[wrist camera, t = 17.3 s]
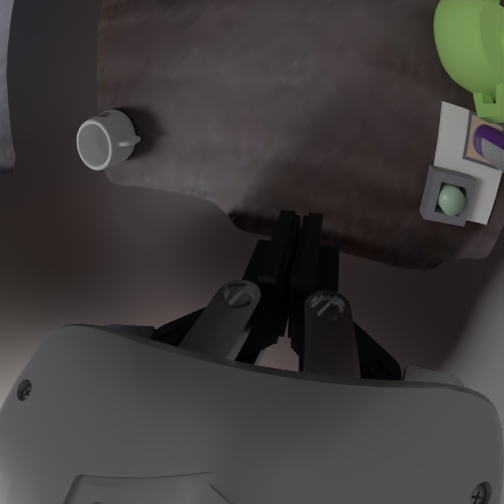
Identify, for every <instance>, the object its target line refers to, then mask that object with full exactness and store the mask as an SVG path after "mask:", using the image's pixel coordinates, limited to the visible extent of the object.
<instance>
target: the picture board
mask: <svg viewBox="0 0 504 504" xmlns="http://www.w3.org/2000/svg"><path fill="white" fill-rule="evenodd" d="M481 124H486V125H489V126H491V127H493V128H495V129H497V130H500V131H502V132H504V124H503V123H491V124H490V123H488V122H486V121H484V120H482V119H480V118H478V116H477V113H476V112H473V111H470V110H468V109H465V108H462V107H459V106H456V105H453V104H449V103H446V102H443V101H442V108H441V119H440V127H439V135H438V142H437V149H436V155H435V161H434V166H433V165H429V170H428V175H427V180H426V185H425V189H424V194H423V198H422V202H421V206H420V210H419V211H420V213H421V215H422V217H423V219H426V220H432V221H438V222H443V223H448V224H453V225H459V226H464V225H465V222H466V220H469V221H473V222H478V223H482V224H487V222H488V219H489V216H490V213H491V210H492V207H493V204H494V200H495V197H496V193H497V190H498V186H499V182H500V178H501V174H502V171H501V170H499V169H498V168H497V167H495V166H494V165H493V164H491V163H490V162H489V161H487V160H486V159H485V158H483V157H482V156H481V155H479V154H478V153H477V152H476V151H475V149H474V147H473V143H472V135H473V132H474V130H475V128H476V127H477V126H479V125H481ZM441 182H444V183H448V184H453V185H455V186H456V187H457V188H458V189H459V190H460V191H461V192H462V193H463V195H464V198H465V205H464V208H463V209H462V211H461V212H460V213H459V214H457V215H454V216H450V215H447V214H445V213H444V212H443V210H442V208H441V207H440V205H439V204H438V203H437V199H438V195H439V191H440V187H441Z"/></svg>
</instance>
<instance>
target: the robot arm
mask: <svg viewBox="0 0 504 504" xmlns="http://www.w3.org/2000/svg"><path fill="white" fill-rule="evenodd" d="M322 218H323V214H319V213H309V216H304V218H303V223H302V228H301V232H300V215H295V211H283V210H282V211H281V213H280V216H279V219H278V221H277V224H276V227H275V230H274V232H273V235H272V238H271V241H269V240H259V241H258V243H257V245H256V248H255V250H254V252H253V255H252V257H251V260H250V262H249V264H248V267H247V269H246V271H245V274H244V276H243V278H242V280H235V281H232V282H229V283H227V284H225V285H223V286H222V287H221V288H220V289H219V290H218V291H217V293H216V294H215V296H214V297H213V299H212V300H211V301H210V303H209V304H208V305H207V307H204V308H202V309H200V310H197V311H195V312H193V313H191V314H188V315H186V316H183V317H181V318H179V319H176V320H174V321H172V322H169V323H167V324H164V325H163V326H161V327H159V328H158V329H155V328H154V326H140V325H124V324H123V325H122V324H108V325H105V326H100V325H95V324H84V323H79V324H68V325H64V326H61V327H58V328H56V329H55V330H53V331H52V332H51V333H50V334H49V335H48V336H47V337H46V338H45V339H44V340H43V342H42V343H41V344H40V345H39V347H38V348H37V349H36V351H35V352H34V353H33V355H32V356H31V358H30V359H29V361H28V362H27V364H26V365H25V367H24V368H23V370H22V371H21V373H20V375H19V376H18V378H17V380H16V382H15V383H14V385H13V387H12V389H11V390H10V392H9V394H8V396H7V398H6V400H5V402H4V404H3V406H2V408H1V410H0V504H500V500H501V493H502V484H503V472H504V471H503V470H504V452H503V451H504V449H503V436H502V429H501V423H500V419H499V415H498V412H497V410H496V408H495V406H494V404H493V403H492V402H491V401H490V400H489V399H488V398H487V397H486V396H484V395H482V394H481V393H479V392H477V391H474V390H472V389H469V388H467V387H464V385H463V383H462V382H461V380H459V378H457V377H455V376H453V375H448V374H443V373H439V372H435V371H431V370H427V369H422V368H418V367H414V366H411V365H407V366H406V367H402V366H399V364H398V363H397V361H396V360H395V359H394V358H393V357H392V356H391V355H390V354H389V353H388V352H386V351H385V350H384V349H383V348H382V347H381V346H380V345H379V344H378V343H377V342H376V341H375V340H373V339H372V338H371V337H370V336H369V335H368V334H367V333H366V332H365V331H364V330H363V329H361V328H360V327H359V326H358V325H357V324H356V323H355V322H354V321H353V319H352V313H351V307H350V304H349V302H348V300H347V299H346V298H345V297H344V296H343V295H341V294H340V293H338V274H339V247H331V246H321V245H320V243H321V231H322ZM288 317H289V324H288V338H291V348H292V349H293V350H294V351H295V352H296V354H297V355H298V356H299V361H298V372H295V371H289V370H282V369H276V368H270V367H264V366H259V363H260V361H261V359H262V357H263V355H264V351H265V348H267V347H269V346H270V345H272V344H277V341H278V337H279V336H282V337H284V334H285V330H286V325H287V321H288Z"/></svg>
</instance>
